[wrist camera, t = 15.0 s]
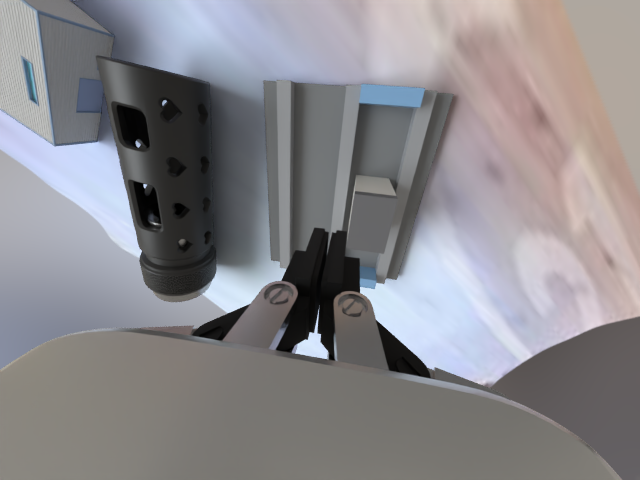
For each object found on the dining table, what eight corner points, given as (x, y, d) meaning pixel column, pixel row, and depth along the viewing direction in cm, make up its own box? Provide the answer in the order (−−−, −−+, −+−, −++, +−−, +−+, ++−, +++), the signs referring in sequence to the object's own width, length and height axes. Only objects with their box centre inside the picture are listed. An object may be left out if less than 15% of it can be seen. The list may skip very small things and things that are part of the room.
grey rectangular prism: (356, 174, 28) (354, 194, 21) (388, 178, 28) (398, 199, 21) (349, 218, 31) (346, 248, 24) (378, 222, 31) (384, 253, 24)
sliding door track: (266, 81, 26) (252, 76, 22) (450, 94, 24) (465, 91, 20) (273, 256, 37) (264, 271, 34) (395, 275, 35) (399, 293, 32)
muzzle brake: (233, 88, 27) (168, 74, 18) (229, 270, 41) (192, 313, 32) (157, 68, 27) (56, 45, 18) (180, 256, 41) (129, 295, 32)
